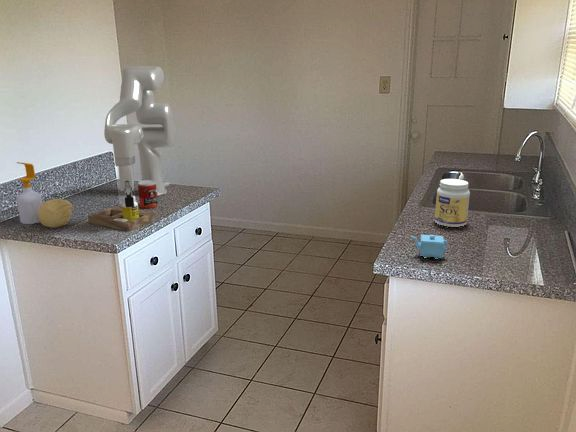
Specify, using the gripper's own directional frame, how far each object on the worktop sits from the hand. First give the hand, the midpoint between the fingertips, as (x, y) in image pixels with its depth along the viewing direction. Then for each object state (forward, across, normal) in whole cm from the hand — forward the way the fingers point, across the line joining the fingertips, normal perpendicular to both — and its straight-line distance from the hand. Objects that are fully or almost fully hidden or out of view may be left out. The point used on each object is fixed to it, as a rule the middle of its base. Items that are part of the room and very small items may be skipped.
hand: (129, 203), depth 208 cm
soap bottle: (+9, -15, -39) cm, 43 cm away
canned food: (+9, -22, +7) cm, 25 cm away
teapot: (+8, +65, +94) cm, 115 cm away
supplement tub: (+8, +38, +120) cm, 126 cm away
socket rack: (+8, -3, -4) cm, 10 cm away
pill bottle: (+9, 0, 0) cm, 9 cm away
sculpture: (+9, -7, -29) cm, 31 cm away
